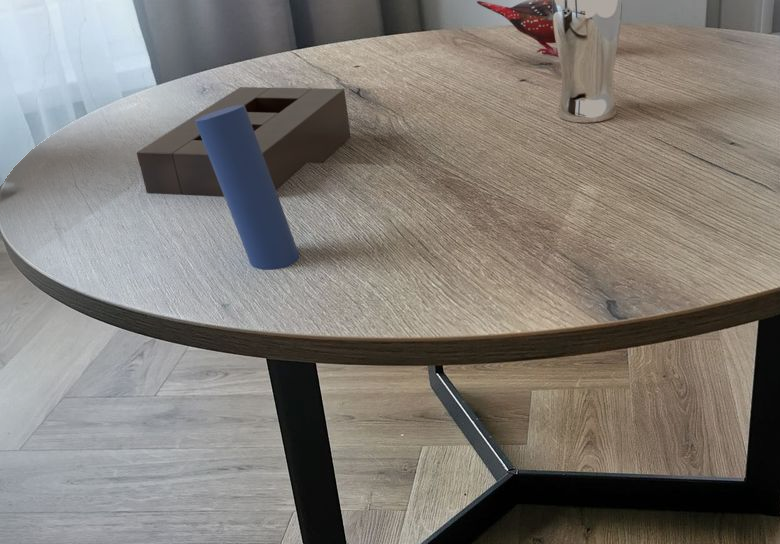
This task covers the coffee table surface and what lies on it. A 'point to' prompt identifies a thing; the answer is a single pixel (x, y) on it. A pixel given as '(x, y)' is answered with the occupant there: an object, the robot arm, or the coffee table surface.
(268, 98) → the peg rack
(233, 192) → the blue peg
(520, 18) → the decorative bird figurine
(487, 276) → the coffee table surface
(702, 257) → the coffee table surface
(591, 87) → the beer glass
